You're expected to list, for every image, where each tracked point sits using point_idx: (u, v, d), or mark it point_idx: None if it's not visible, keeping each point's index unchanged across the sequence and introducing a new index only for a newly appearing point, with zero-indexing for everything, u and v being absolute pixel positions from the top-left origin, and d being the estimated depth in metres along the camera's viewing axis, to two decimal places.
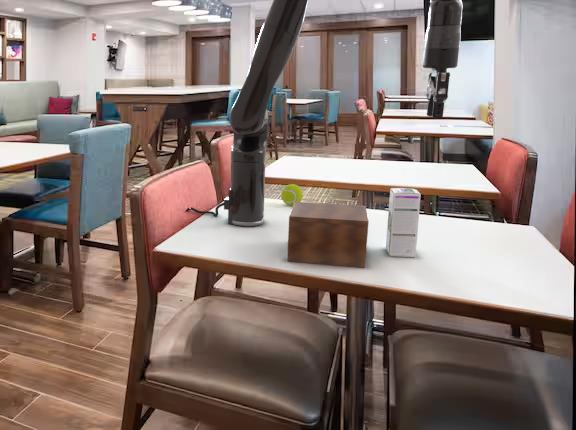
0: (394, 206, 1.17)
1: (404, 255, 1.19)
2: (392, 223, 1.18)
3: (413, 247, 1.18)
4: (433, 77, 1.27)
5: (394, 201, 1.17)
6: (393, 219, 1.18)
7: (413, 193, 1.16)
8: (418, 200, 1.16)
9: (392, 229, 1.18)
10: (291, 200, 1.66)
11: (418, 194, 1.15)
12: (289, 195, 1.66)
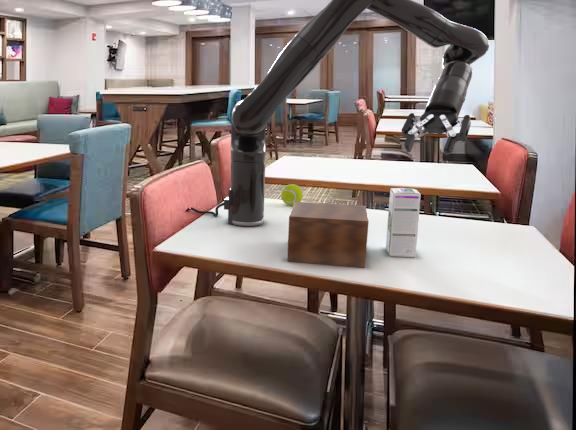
0: (394, 206, 1.17)
1: (404, 255, 1.19)
2: (392, 223, 1.18)
3: (413, 247, 1.18)
4: None
5: (394, 201, 1.17)
6: (393, 219, 1.18)
7: (413, 193, 1.16)
8: (418, 200, 1.16)
9: (392, 229, 1.18)
10: (291, 200, 1.66)
11: (418, 194, 1.15)
12: (289, 195, 1.66)
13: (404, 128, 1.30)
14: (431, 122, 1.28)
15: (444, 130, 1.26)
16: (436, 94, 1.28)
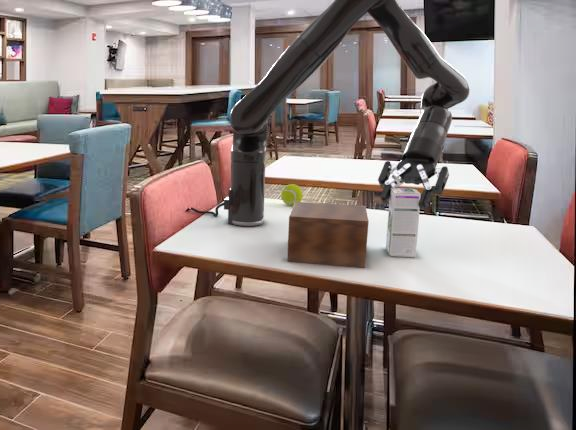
0: (394, 206, 1.17)
1: (404, 255, 1.19)
2: (392, 223, 1.18)
3: (413, 247, 1.18)
4: (422, 167, 1.19)
5: (395, 201, 1.17)
6: (393, 219, 1.18)
7: (413, 193, 1.16)
8: (418, 200, 1.16)
9: (392, 229, 1.18)
10: (291, 200, 1.66)
11: (418, 194, 1.15)
12: (289, 195, 1.66)
13: (381, 177, 1.23)
14: (407, 171, 1.21)
15: (421, 181, 1.19)
16: (413, 142, 1.22)
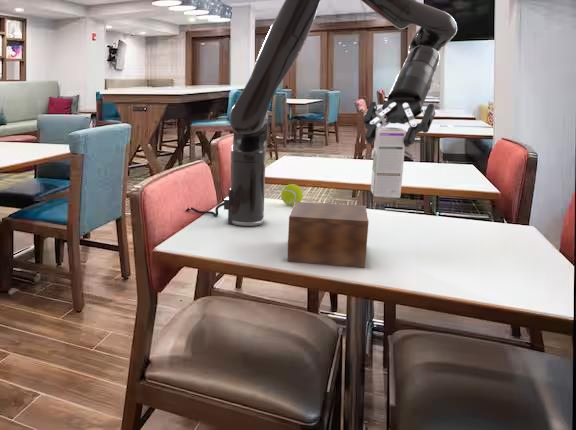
0: (379, 144, 1.14)
1: (389, 196, 1.16)
2: (377, 162, 1.15)
3: (398, 187, 1.15)
4: (408, 105, 1.16)
5: (379, 139, 1.13)
6: (378, 158, 1.14)
7: (398, 130, 1.12)
8: (403, 137, 1.12)
9: (376, 168, 1.15)
10: (291, 200, 1.66)
11: (403, 131, 1.12)
12: (289, 195, 1.66)
13: (366, 118, 1.20)
14: (393, 110, 1.18)
15: (407, 119, 1.16)
16: (399, 80, 1.18)
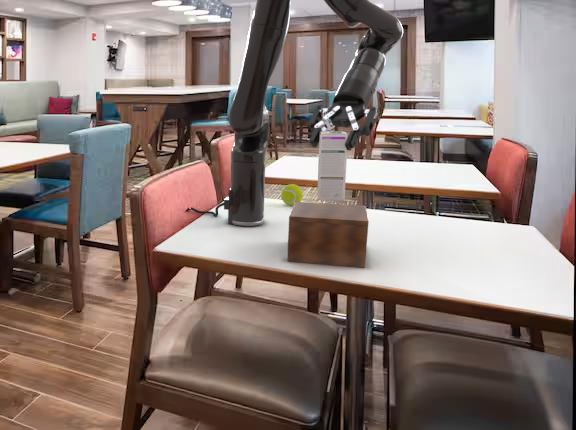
0: (321, 148, 1.13)
1: (333, 199, 1.16)
2: (320, 166, 1.14)
3: (342, 190, 1.15)
4: (351, 108, 1.16)
5: (321, 142, 1.13)
6: (320, 162, 1.14)
7: (340, 134, 1.12)
8: (345, 141, 1.12)
9: (320, 172, 1.15)
10: (291, 200, 1.66)
11: (345, 135, 1.12)
12: (289, 195, 1.66)
13: (311, 121, 1.20)
14: (337, 114, 1.17)
15: (350, 123, 1.16)
16: (343, 84, 1.18)
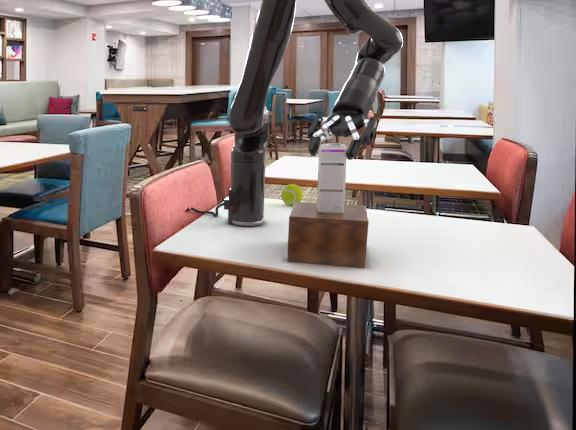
0: (320, 160, 1.14)
1: (332, 211, 1.16)
2: (319, 178, 1.15)
3: (341, 203, 1.15)
4: (351, 118, 1.16)
5: (321, 155, 1.14)
6: (320, 174, 1.15)
7: (339, 147, 1.13)
8: (344, 154, 1.13)
9: (319, 184, 1.15)
10: (291, 200, 1.66)
11: (344, 147, 1.13)
12: (289, 195, 1.66)
13: (309, 130, 1.20)
14: (336, 123, 1.18)
15: (349, 133, 1.16)
16: (343, 94, 1.19)
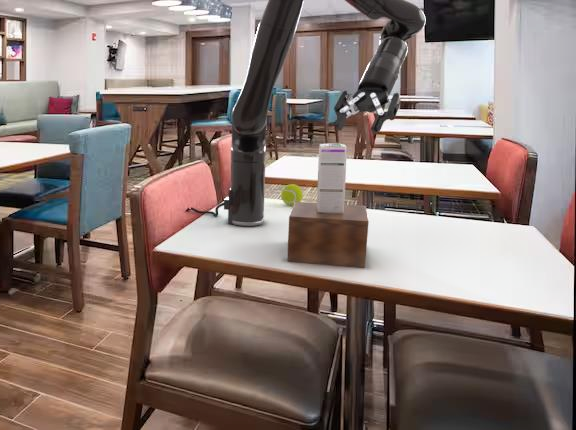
0: (320, 160, 1.14)
1: (332, 211, 1.16)
2: (319, 178, 1.15)
3: (341, 203, 1.15)
4: (375, 95, 1.25)
5: (321, 155, 1.14)
6: (320, 174, 1.15)
7: (339, 147, 1.13)
8: (344, 154, 1.13)
9: (319, 184, 1.15)
10: (291, 200, 1.66)
11: (344, 147, 1.13)
12: (289, 195, 1.66)
13: (336, 106, 1.29)
14: (362, 100, 1.26)
15: (374, 108, 1.25)
16: (368, 71, 1.27)
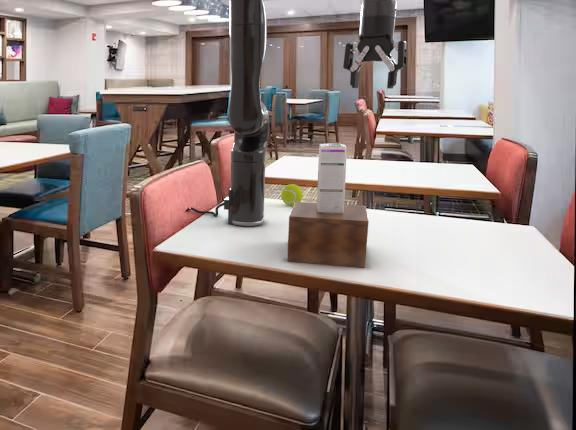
0: (320, 160, 1.14)
1: (332, 211, 1.16)
2: (319, 178, 1.15)
3: (341, 203, 1.15)
4: (380, 46, 1.23)
5: (321, 155, 1.14)
6: (320, 174, 1.15)
7: (339, 147, 1.13)
8: (344, 154, 1.13)
9: (319, 184, 1.15)
10: (291, 200, 1.66)
11: (344, 147, 1.13)
12: (289, 195, 1.66)
13: (345, 64, 1.29)
14: (368, 53, 1.25)
15: None
16: (365, 23, 1.22)
